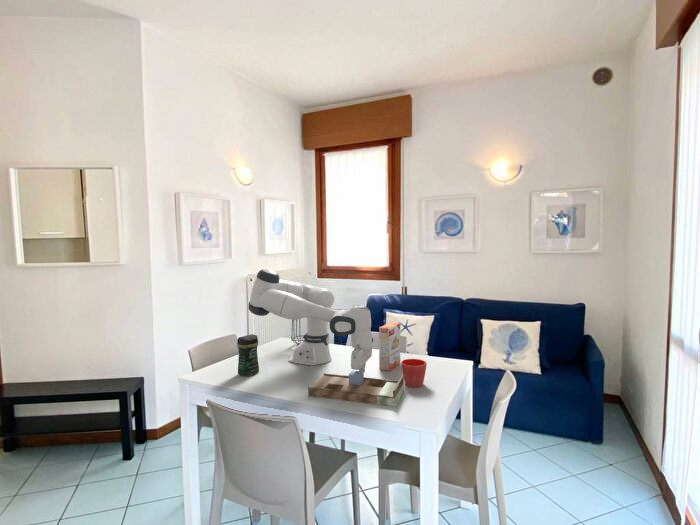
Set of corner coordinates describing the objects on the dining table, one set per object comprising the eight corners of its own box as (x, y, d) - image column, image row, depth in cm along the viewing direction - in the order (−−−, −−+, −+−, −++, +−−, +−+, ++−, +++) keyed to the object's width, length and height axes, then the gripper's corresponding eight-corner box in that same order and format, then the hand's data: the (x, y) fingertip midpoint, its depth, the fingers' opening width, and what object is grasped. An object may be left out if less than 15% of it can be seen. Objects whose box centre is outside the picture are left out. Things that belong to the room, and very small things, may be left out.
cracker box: (390, 371, 183) (389, 328, 182) (378, 370, 186) (378, 327, 185) (401, 363, 195) (400, 322, 194) (390, 361, 198) (389, 321, 197)
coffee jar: (246, 378, 178) (244, 338, 177) (235, 375, 183) (233, 336, 182) (262, 372, 186) (260, 334, 185) (251, 369, 190) (250, 332, 189)
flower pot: (409, 377, 174) (409, 356, 174) (431, 383, 167) (430, 361, 167) (396, 385, 166) (396, 362, 165) (419, 390, 159) (418, 367, 158)
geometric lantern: (288, 349, 226) (286, 289, 225) (295, 342, 241) (293, 287, 240) (314, 349, 223) (312, 289, 222) (320, 342, 239) (318, 286, 238)
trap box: (308, 395, 156) (307, 381, 156) (324, 381, 172) (323, 368, 172) (395, 406, 144) (395, 390, 144) (403, 389, 160) (403, 375, 160)
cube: (348, 383, 160) (348, 374, 160) (352, 379, 165) (352, 370, 165) (360, 385, 159) (360, 375, 158) (363, 380, 163) (363, 371, 163)
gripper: (361, 349, 157) (361, 382, 158) (374, 337, 176) (374, 366, 177) (346, 348, 159) (347, 380, 160) (361, 336, 178) (361, 365, 179)
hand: (361, 373), depth 169 cm, fingers closed
